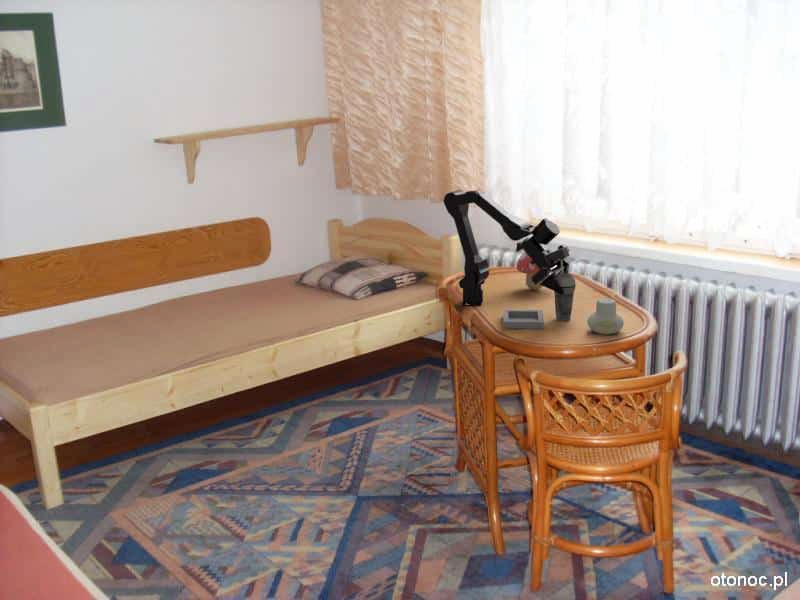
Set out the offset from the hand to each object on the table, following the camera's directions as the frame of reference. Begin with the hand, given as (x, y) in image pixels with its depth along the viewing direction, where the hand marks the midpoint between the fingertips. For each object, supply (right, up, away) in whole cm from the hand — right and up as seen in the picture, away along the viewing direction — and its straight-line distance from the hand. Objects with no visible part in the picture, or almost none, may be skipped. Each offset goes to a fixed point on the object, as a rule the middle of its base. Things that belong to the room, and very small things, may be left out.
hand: (568, 291), depth 282 cm
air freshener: (+10, -13, -9) cm, 19 cm away
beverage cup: (-1, -9, +4) cm, 10 cm away
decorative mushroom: (-5, +1, +36) cm, 36 cm away
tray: (-14, -10, 0) cm, 18 cm away
